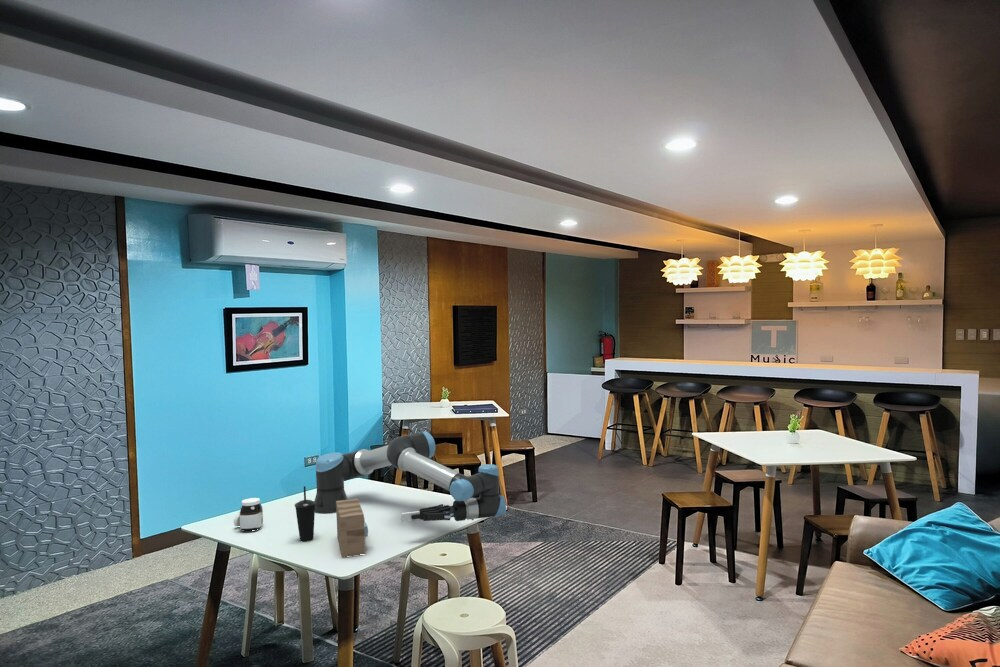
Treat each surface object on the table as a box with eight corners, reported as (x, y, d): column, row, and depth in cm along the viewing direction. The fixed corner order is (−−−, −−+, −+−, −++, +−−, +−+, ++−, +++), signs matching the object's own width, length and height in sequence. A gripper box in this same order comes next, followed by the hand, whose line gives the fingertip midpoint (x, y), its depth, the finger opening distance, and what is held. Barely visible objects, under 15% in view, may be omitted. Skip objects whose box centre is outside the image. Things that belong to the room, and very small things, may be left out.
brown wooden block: (337, 538, 240) (335, 501, 240) (359, 535, 242) (357, 498, 242) (341, 557, 219) (339, 517, 219) (365, 554, 221) (363, 514, 221)
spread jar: (257, 532, 250) (256, 503, 250) (228, 534, 249) (227, 504, 249) (267, 523, 262) (265, 495, 262) (238, 524, 261) (237, 496, 261)
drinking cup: (297, 544, 234) (294, 490, 234) (294, 538, 241) (292, 485, 241) (318, 541, 237) (316, 487, 237) (315, 535, 244) (313, 483, 244)
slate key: (349, 534, 227) (348, 524, 227) (367, 531, 229) (366, 522, 229) (350, 538, 223) (349, 528, 223) (368, 536, 225) (368, 526, 225)
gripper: (469, 524, 232) (405, 533, 225) (460, 514, 245) (399, 522, 238) (469, 504, 232) (404, 512, 225) (460, 495, 245) (398, 502, 238)
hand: (401, 517), depth 232 cm, fingers closed
